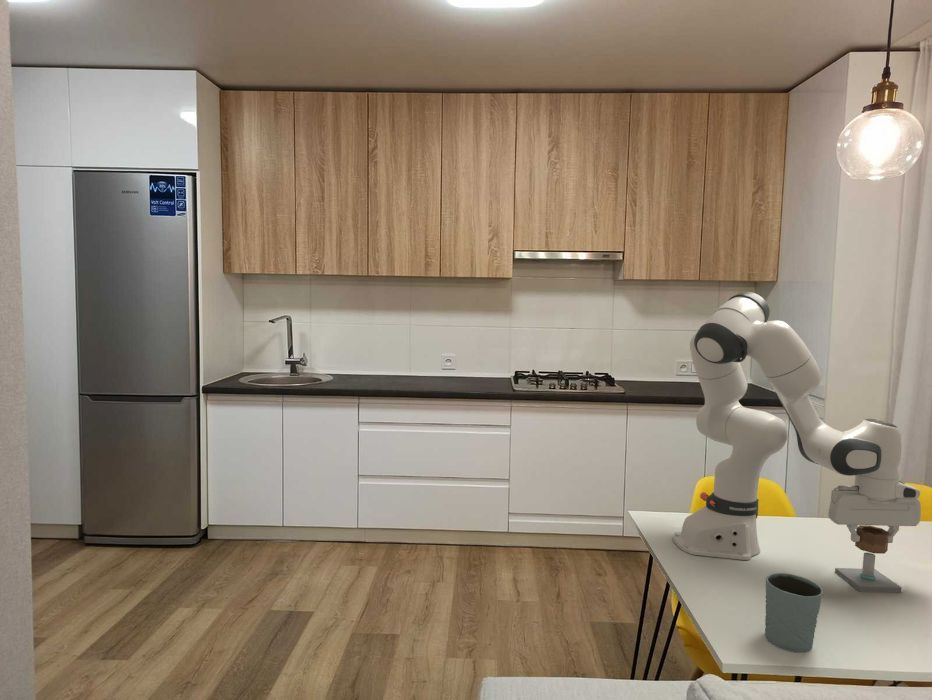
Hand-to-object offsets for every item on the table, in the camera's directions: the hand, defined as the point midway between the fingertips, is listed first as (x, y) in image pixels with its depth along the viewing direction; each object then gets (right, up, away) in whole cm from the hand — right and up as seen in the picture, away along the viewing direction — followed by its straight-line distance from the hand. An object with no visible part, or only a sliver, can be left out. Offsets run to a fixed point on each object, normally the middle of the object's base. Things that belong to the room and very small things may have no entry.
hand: (871, 541), depth 154 cm
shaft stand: (0, -10, +1) cm, 10 cm away
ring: (0, -2, 0) cm, 2 cm away
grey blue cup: (-33, -12, -27) cm, 44 cm away
